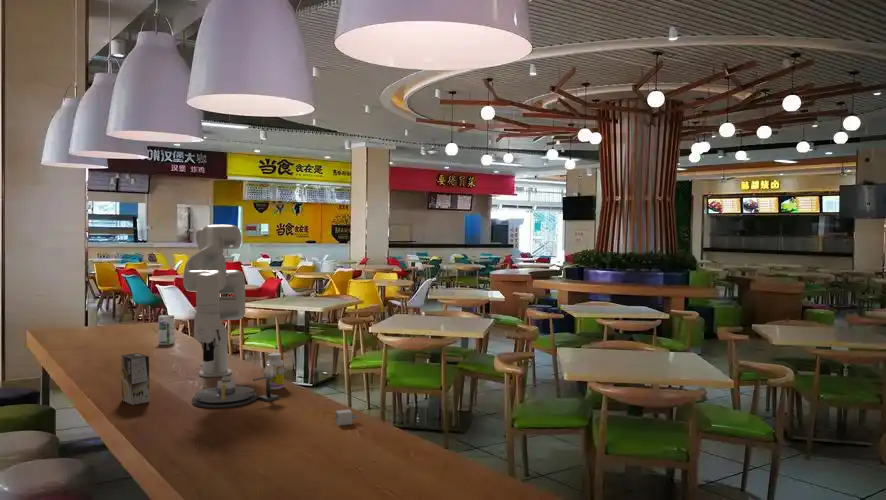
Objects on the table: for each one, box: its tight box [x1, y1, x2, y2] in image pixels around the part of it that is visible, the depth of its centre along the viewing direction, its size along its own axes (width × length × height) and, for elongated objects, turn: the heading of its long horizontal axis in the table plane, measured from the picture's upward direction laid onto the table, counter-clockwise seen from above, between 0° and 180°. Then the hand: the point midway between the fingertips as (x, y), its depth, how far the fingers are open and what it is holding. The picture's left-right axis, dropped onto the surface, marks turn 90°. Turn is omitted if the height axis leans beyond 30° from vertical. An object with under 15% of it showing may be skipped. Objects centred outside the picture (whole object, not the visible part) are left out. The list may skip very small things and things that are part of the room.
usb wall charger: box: [335, 409, 361, 427], centre depth 214 cm, size 4×7×4 cm, turn 112°
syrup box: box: [157, 314, 175, 346], centre depth 347 cm, size 6×6×14 cm
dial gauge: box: [252, 364, 280, 403], centre depth 240 cm, size 5×9×12 cm, turn 143°
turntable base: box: [191, 392, 259, 409], centre depth 241 cm, size 22×22×1 cm
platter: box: [194, 383, 256, 404], centre depth 240 cm, size 20×20×6 cm
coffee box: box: [120, 352, 151, 406], centre depth 238 cm, size 9×6×16 cm
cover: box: [217, 375, 236, 395], centre depth 241 cm, size 6×6×6 cm
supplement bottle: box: [265, 352, 285, 391], centre depth 258 cm, size 7×7×13 cm
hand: (208, 360), depth 239 cm, fingers closed
